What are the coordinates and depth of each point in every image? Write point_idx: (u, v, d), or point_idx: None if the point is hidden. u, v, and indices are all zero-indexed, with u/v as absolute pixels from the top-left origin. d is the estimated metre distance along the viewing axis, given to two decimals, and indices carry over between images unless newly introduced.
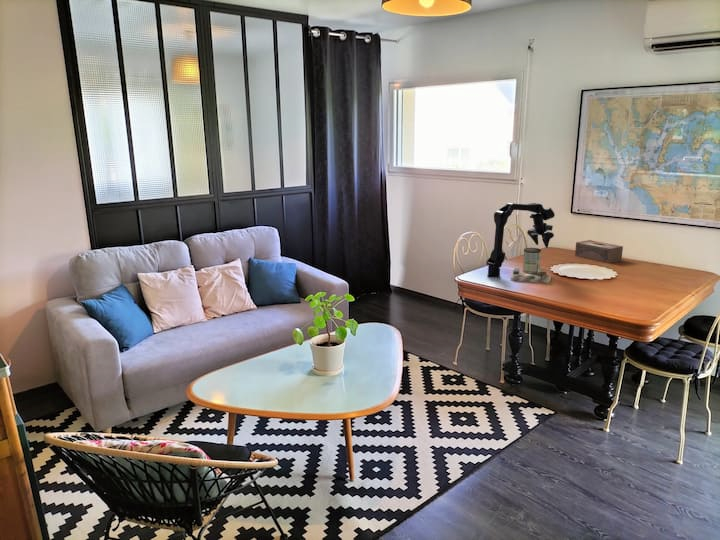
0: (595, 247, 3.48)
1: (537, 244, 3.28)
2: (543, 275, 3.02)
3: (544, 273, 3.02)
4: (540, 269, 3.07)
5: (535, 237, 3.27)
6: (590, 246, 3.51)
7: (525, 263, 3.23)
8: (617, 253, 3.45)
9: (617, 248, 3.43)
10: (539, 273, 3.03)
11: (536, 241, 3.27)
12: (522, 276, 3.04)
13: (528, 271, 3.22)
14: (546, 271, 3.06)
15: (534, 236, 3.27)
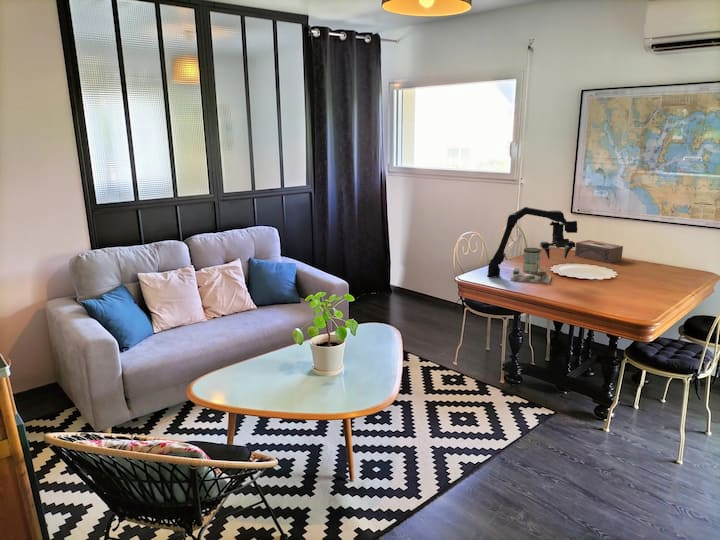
0: (595, 247, 3.48)
1: None
2: (543, 275, 3.02)
3: (544, 273, 3.02)
4: (540, 269, 3.07)
5: (565, 249, 3.02)
6: (590, 246, 3.51)
7: (525, 263, 3.23)
8: (618, 253, 3.45)
9: (617, 248, 3.44)
10: (539, 273, 3.03)
11: (564, 254, 3.02)
12: (522, 276, 3.04)
13: (528, 271, 3.22)
14: (546, 271, 3.06)
15: (565, 248, 3.02)
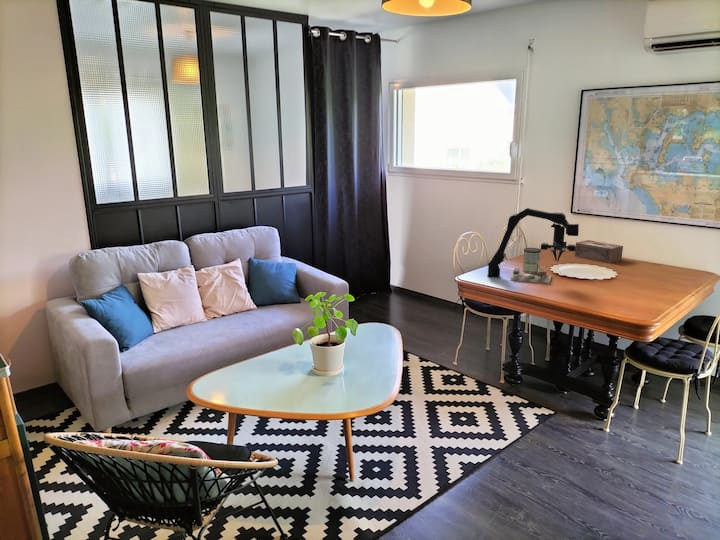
0: (596, 247, 3.48)
1: (557, 260, 3.00)
2: (543, 275, 3.02)
3: (544, 273, 3.02)
4: (540, 269, 3.07)
5: None
6: (591, 246, 3.51)
7: (525, 263, 3.23)
8: (618, 252, 3.45)
9: (618, 248, 3.44)
10: (539, 273, 3.03)
11: None
12: (522, 276, 3.04)
13: (528, 271, 3.22)
14: (546, 271, 3.06)
15: (559, 251, 2.99)
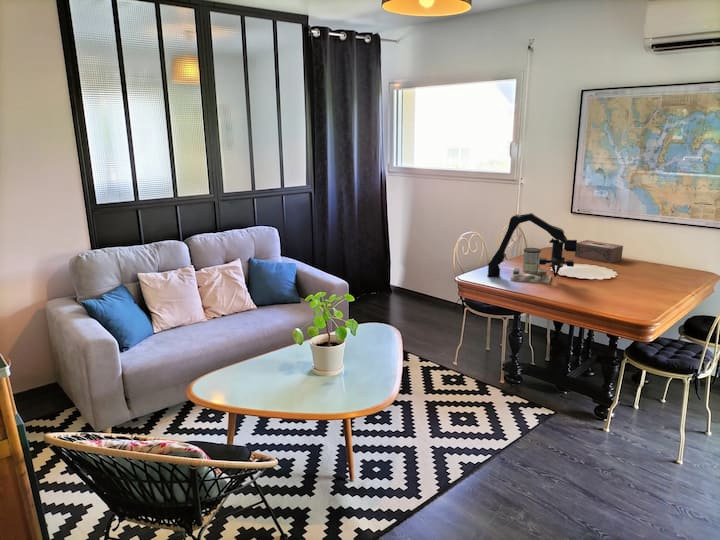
0: (597, 247, 3.47)
1: None
2: (543, 275, 3.02)
3: (544, 273, 3.02)
4: (540, 269, 3.07)
5: None
6: (591, 246, 3.50)
7: (525, 263, 3.23)
8: (618, 252, 3.46)
9: (618, 248, 3.44)
10: (539, 273, 3.03)
11: None
12: (522, 276, 3.04)
13: (528, 271, 3.22)
14: (546, 271, 3.06)
15: None
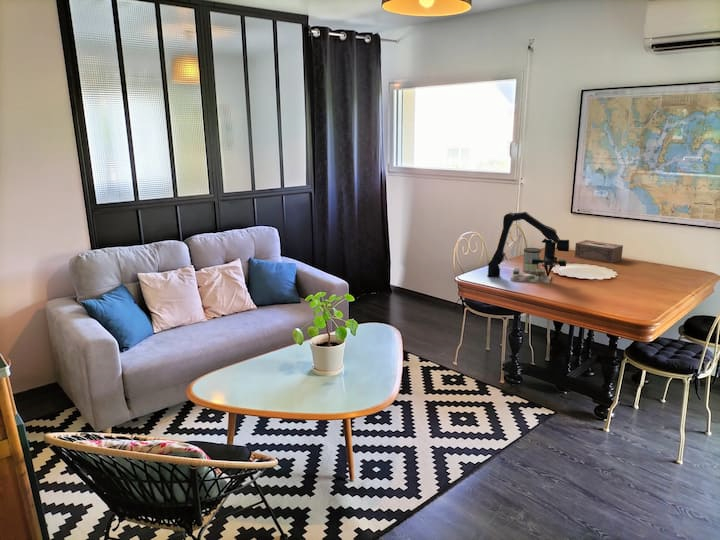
0: (597, 247, 3.47)
1: (547, 275, 3.04)
2: (541, 275, 3.02)
3: (542, 273, 3.02)
4: (539, 269, 3.08)
5: (549, 267, 3.03)
6: (591, 246, 3.50)
7: (525, 263, 3.23)
8: (619, 252, 3.46)
9: (618, 247, 3.45)
10: (537, 273, 3.03)
11: None
12: (522, 276, 3.04)
13: (528, 271, 3.22)
14: None
15: None
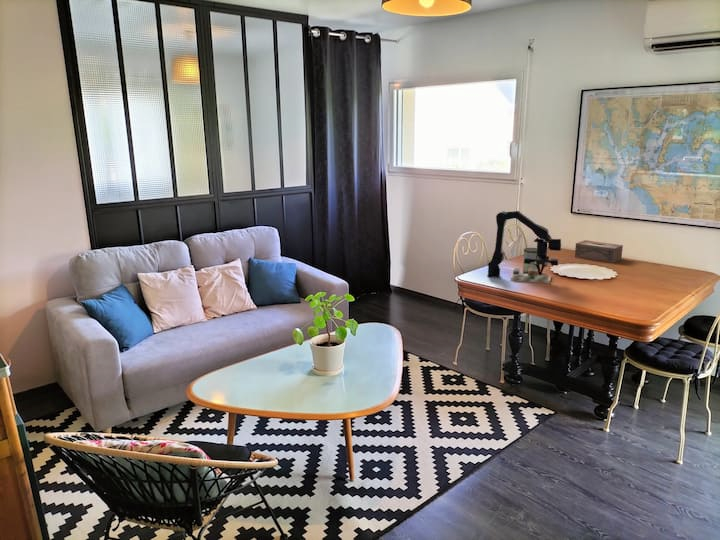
0: (598, 247, 3.47)
1: (540, 274, 3.05)
2: (534, 274, 3.04)
3: (535, 272, 3.03)
4: (531, 268, 3.09)
5: None
6: (592, 246, 3.50)
7: None
8: (619, 252, 3.47)
9: (619, 247, 3.45)
10: (530, 272, 3.04)
11: None
12: (522, 276, 3.04)
13: None
14: (537, 270, 3.08)
15: None
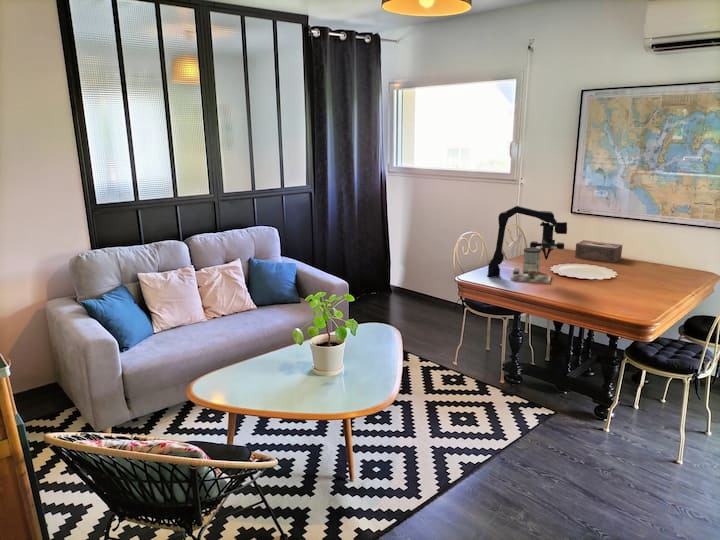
0: (599, 247, 3.47)
1: None
2: (534, 274, 3.04)
3: (535, 272, 3.03)
4: (531, 268, 3.09)
5: None
6: (593, 247, 3.49)
7: (525, 263, 3.23)
8: (619, 252, 3.48)
9: (619, 247, 3.46)
10: (530, 272, 3.04)
11: None
12: (522, 276, 3.04)
13: None
14: (537, 270, 3.08)
15: None
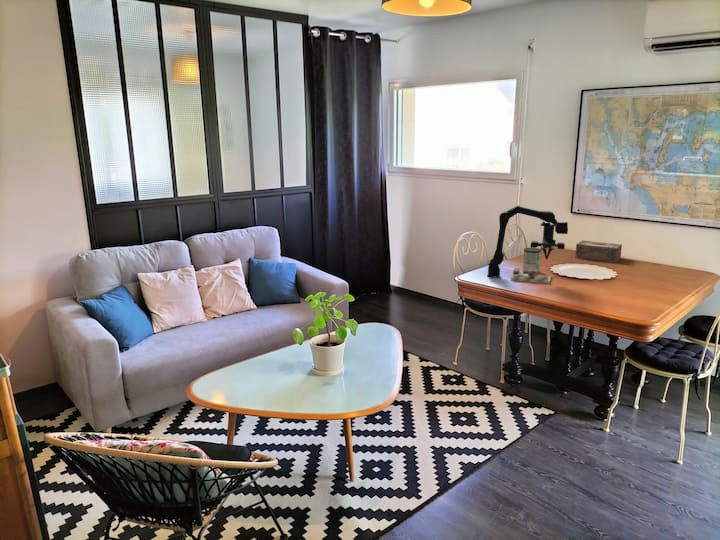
0: (600, 247, 3.46)
1: (546, 258, 3.05)
2: (534, 274, 3.04)
3: (535, 272, 3.03)
4: (531, 268, 3.09)
5: (548, 250, 3.04)
6: (594, 247, 3.49)
7: (525, 263, 3.23)
8: (619, 251, 3.49)
9: (619, 247, 3.47)
10: (530, 272, 3.04)
11: None
12: (522, 276, 3.04)
13: None
14: (537, 270, 3.08)
15: None
